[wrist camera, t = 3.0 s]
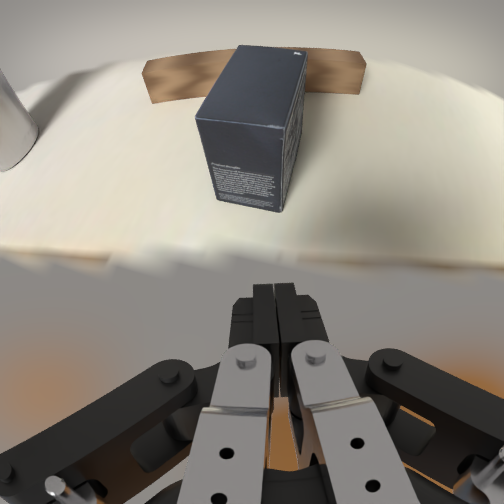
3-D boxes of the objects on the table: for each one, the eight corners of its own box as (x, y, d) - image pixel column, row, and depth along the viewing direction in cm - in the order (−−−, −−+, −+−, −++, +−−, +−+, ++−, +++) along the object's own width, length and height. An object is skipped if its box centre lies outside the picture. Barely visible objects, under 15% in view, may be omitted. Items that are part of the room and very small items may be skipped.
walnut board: (152, 103, 34) (141, 73, 29) (156, 90, 35) (147, 60, 31) (358, 94, 33) (366, 63, 29) (352, 81, 35) (359, 51, 30)
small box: (243, 122, 32) (236, 41, 22) (302, 132, 31) (311, 49, 21) (211, 200, 28) (188, 114, 18) (282, 215, 27) (290, 128, 17)
